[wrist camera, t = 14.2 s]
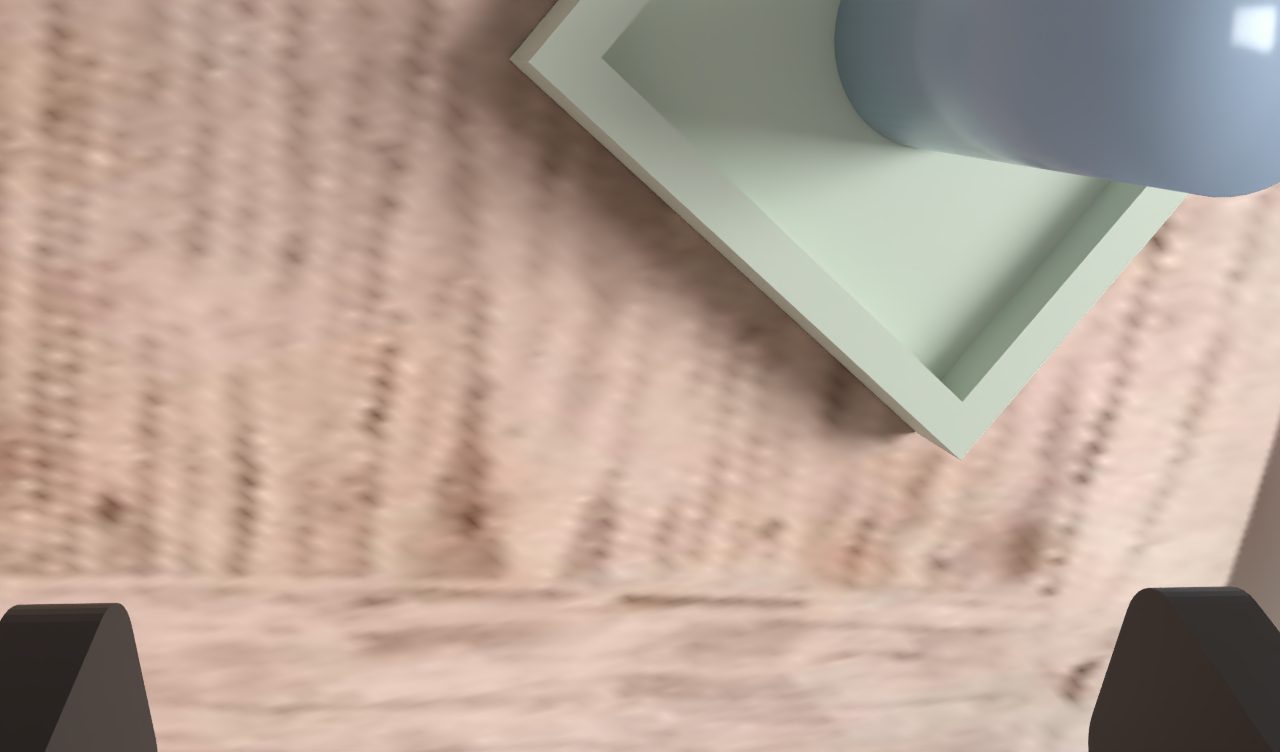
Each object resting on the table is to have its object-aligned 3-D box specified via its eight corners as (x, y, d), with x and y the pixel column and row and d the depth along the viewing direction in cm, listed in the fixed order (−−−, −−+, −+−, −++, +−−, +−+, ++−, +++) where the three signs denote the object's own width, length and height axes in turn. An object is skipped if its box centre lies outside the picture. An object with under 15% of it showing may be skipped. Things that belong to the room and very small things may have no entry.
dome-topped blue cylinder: (790, 41, 31) (1042, 41, 21) (942, -134, 31) (1271, -221, 20) (931, 193, 33) (1223, 262, 23) (1074, 30, 33) (1431, 25, 23)
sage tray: (508, 59, 30) (528, 61, 28) (934, -450, 30) (989, -490, 27) (916, 432, 36) (960, 460, 34) (1273, 15, 36) (1342, 14, 33)
